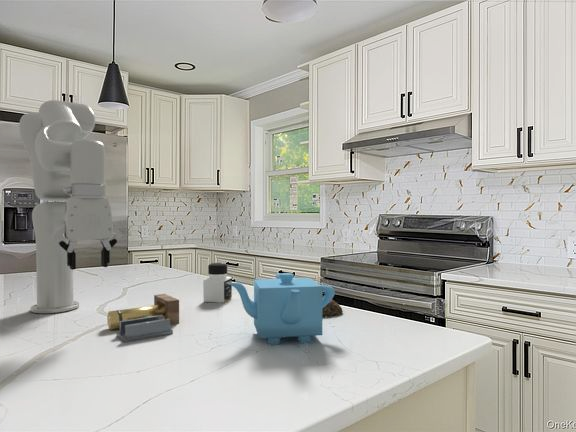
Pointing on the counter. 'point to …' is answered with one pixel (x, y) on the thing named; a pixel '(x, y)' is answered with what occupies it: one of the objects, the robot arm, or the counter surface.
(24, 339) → the counter surface
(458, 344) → the counter surface
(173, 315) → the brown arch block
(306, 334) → the teakettle
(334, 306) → the bread roll
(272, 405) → the counter surface
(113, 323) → the axle
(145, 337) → the cradle
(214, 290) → the medicine bottle
